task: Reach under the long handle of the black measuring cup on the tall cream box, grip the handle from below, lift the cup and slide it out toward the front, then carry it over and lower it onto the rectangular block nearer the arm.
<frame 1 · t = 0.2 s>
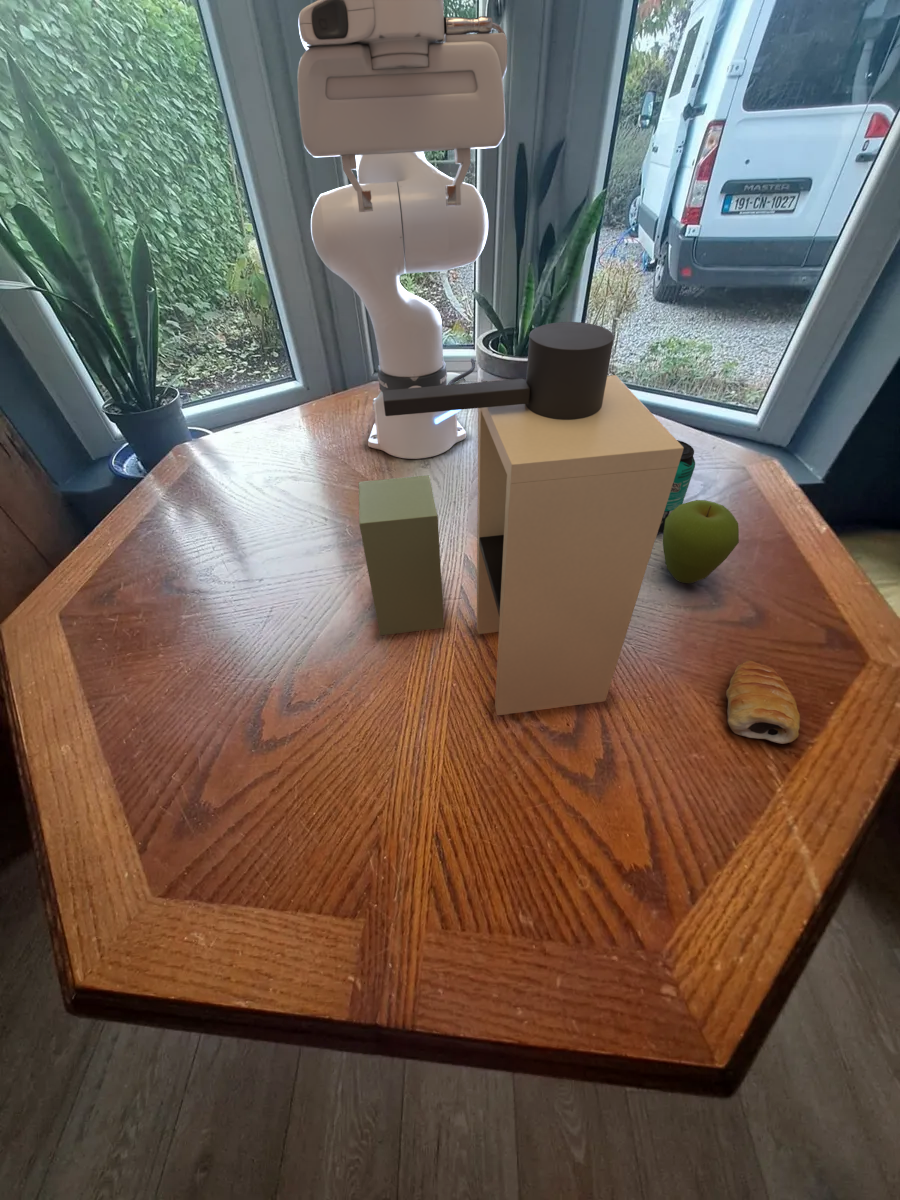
hand: (410, 208, 56), 39 cm above the table, tool pointing down, fingers open, 8 cm apart
tall cream box: (536, 661, 61), on the table
pastry: (753, 711, 55), on the table
measuring cup: (562, 402, 41), point 30 cm above the table, touching tall cream box
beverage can: (650, 521, 80), on the table
rectangular block: (409, 609, 67), on the table
cup: (585, 501, 84), on the table
apple: (682, 578, 70), on the table
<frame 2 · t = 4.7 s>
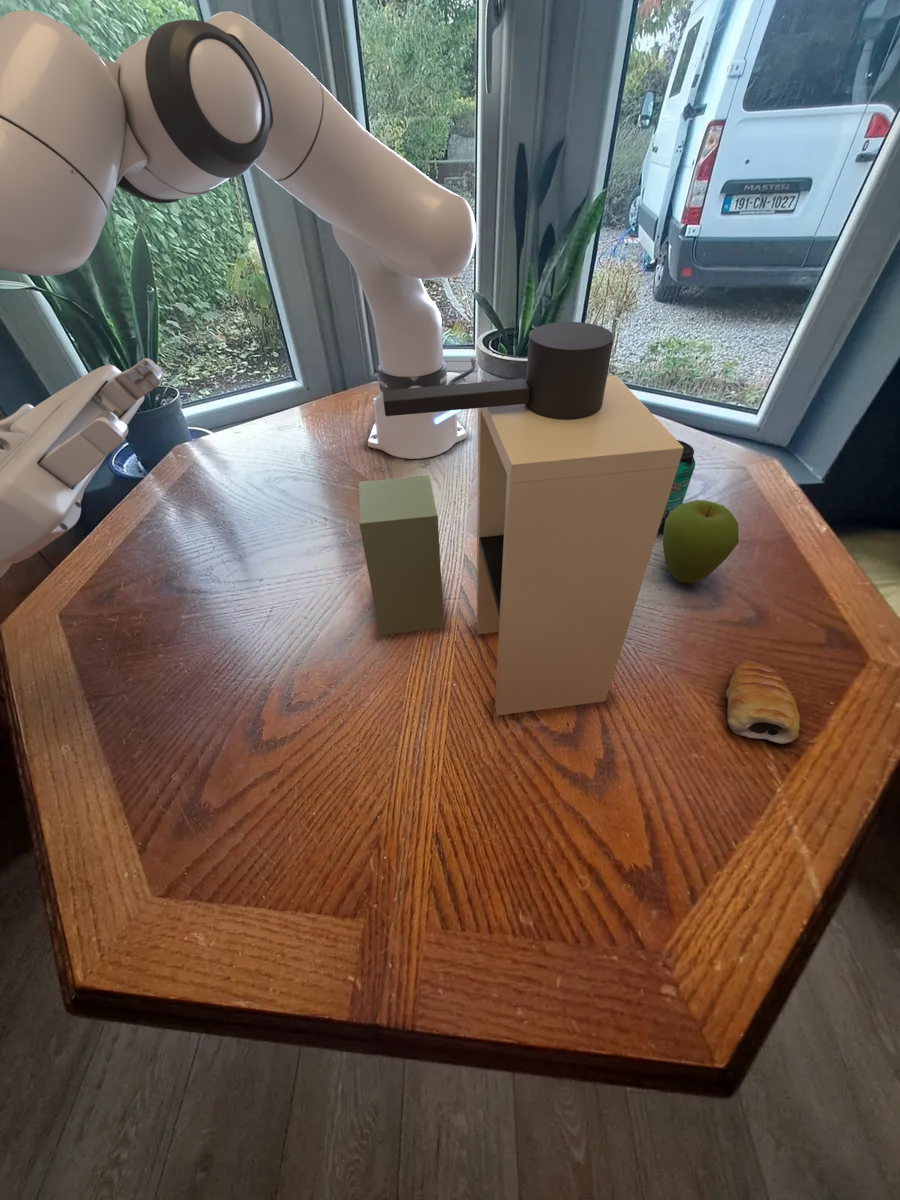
hand: (137, 394, 36), 33 cm above the table, tool pointing upward, fingers open, 8 cm apart
nothing on the table moved.
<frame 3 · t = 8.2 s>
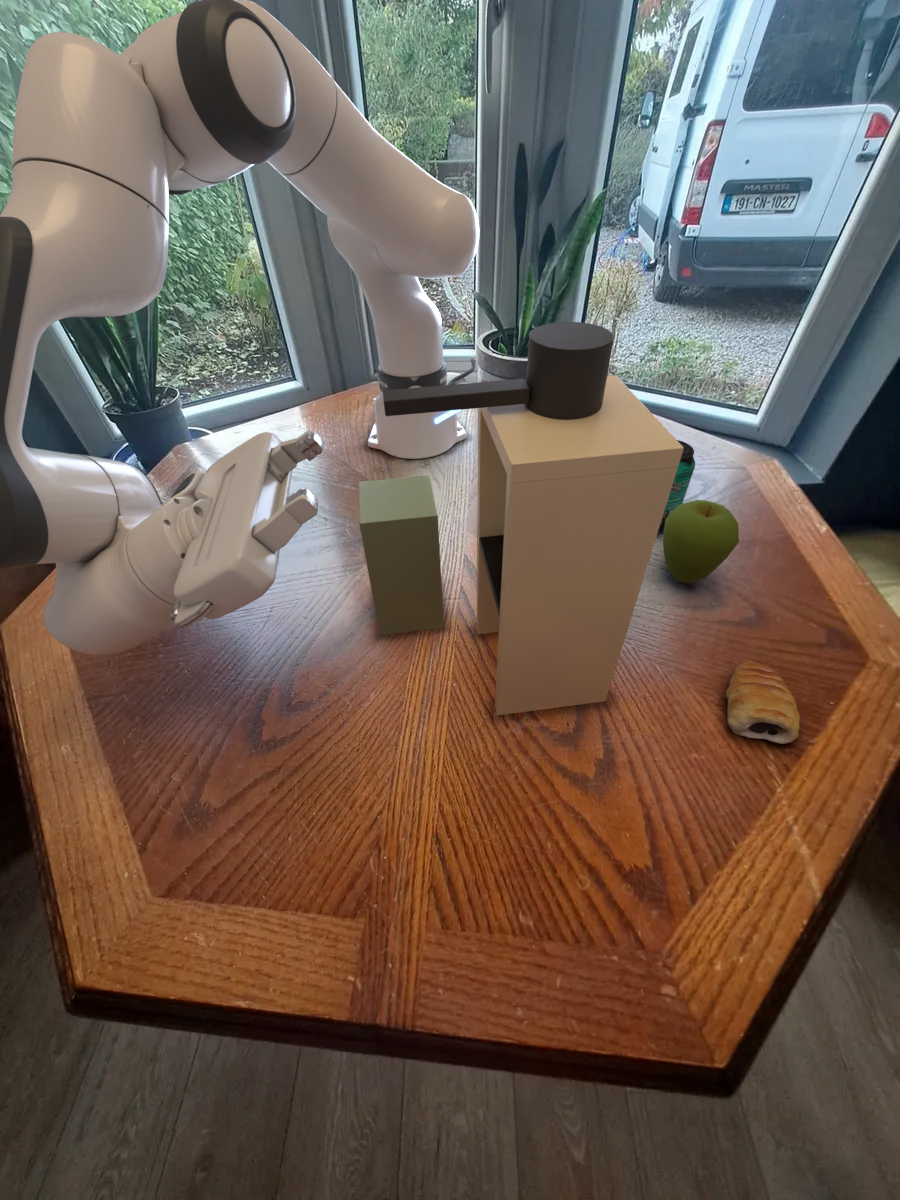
hand: (315, 466, 42), 26 cm above the table, tool pointing upward, fingers open, 8 cm apart
nothing on the table moved.
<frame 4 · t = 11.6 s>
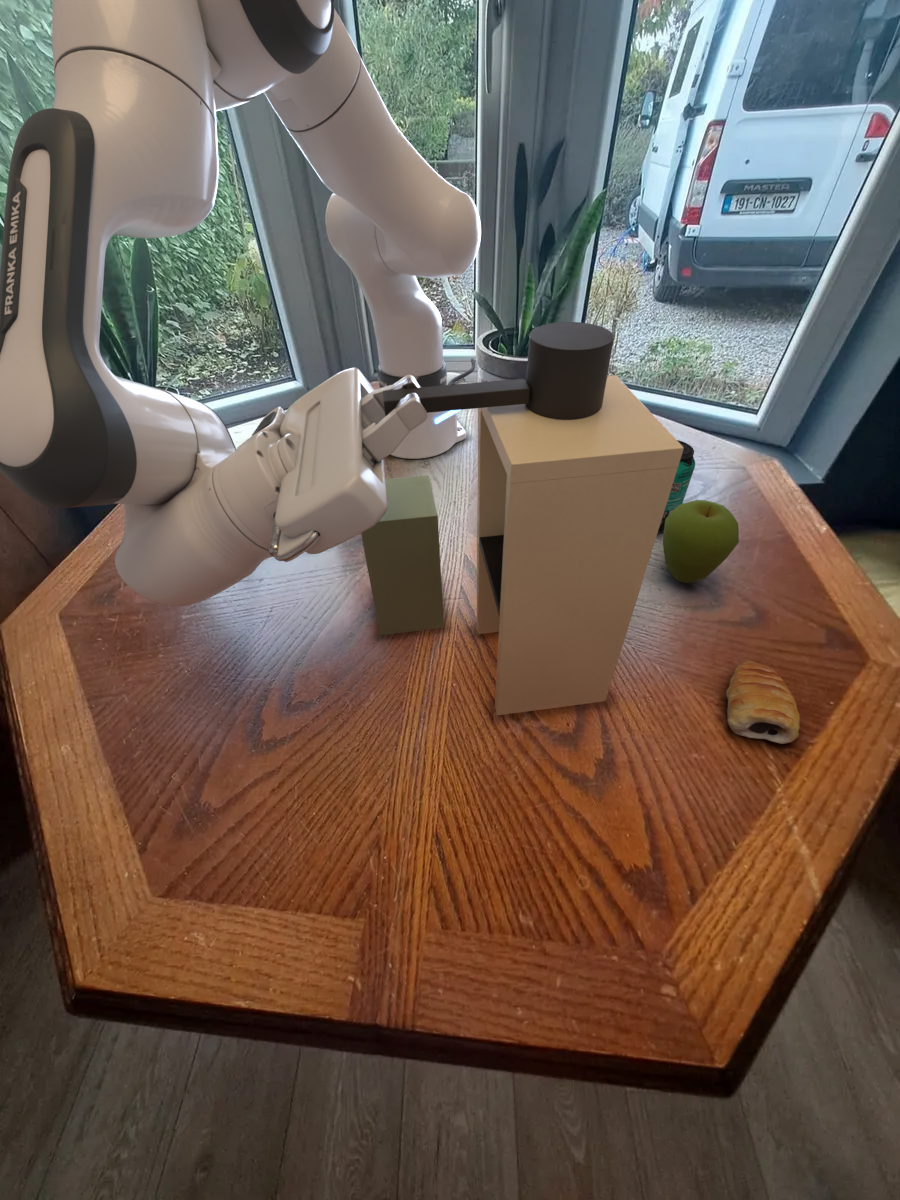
hand: (420, 394, 39), 32 cm above the table, tool pointing upward, fingers closed on measuring cup
measuring cup: (563, 402, 41), point 30 cm above the table, touching gripper, tall cream box
everything else where it was.
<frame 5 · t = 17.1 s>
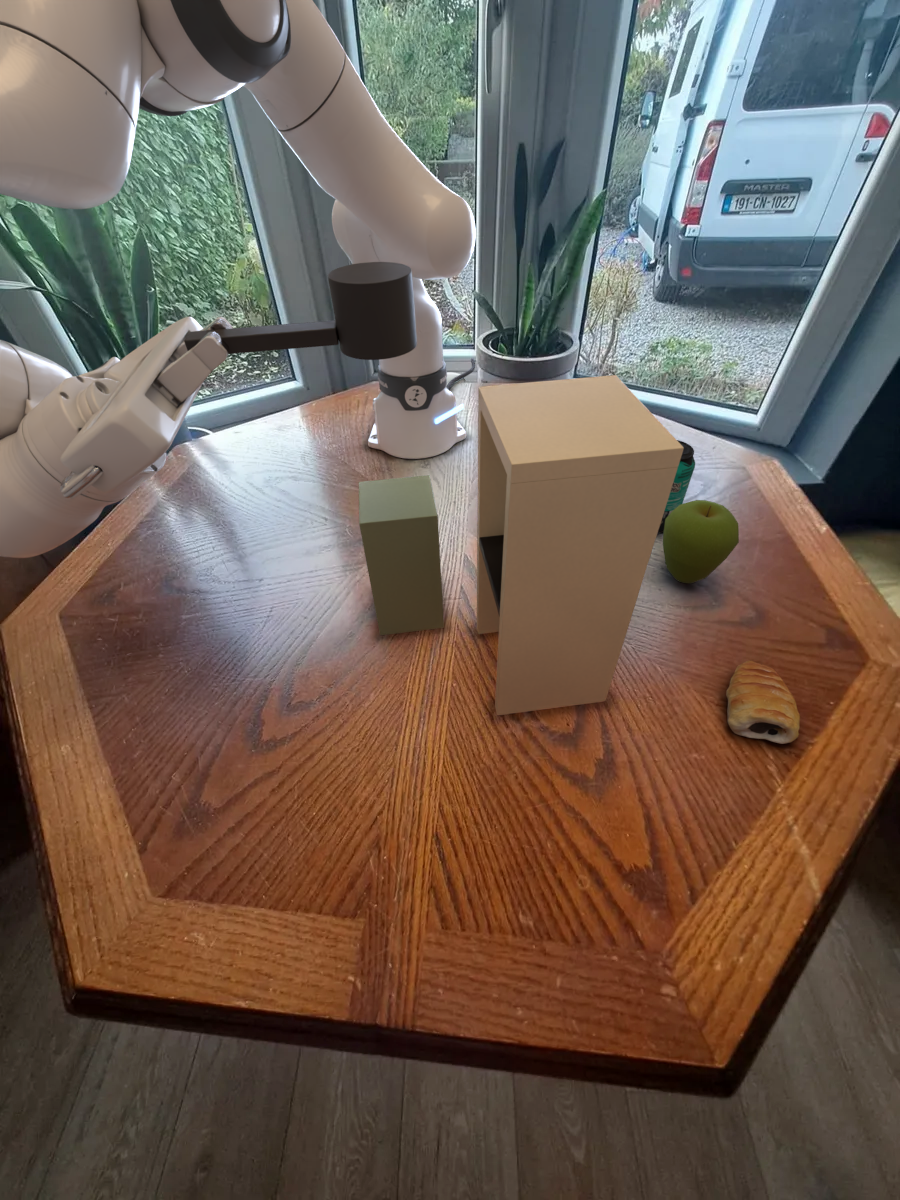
hand: (225, 334, 39), 35 cm above the table, tool pointing upward, fingers closed on measuring cup
measuring cup: (378, 345, 41), point 34 cm above the table, touching gripper
everything else where it was.
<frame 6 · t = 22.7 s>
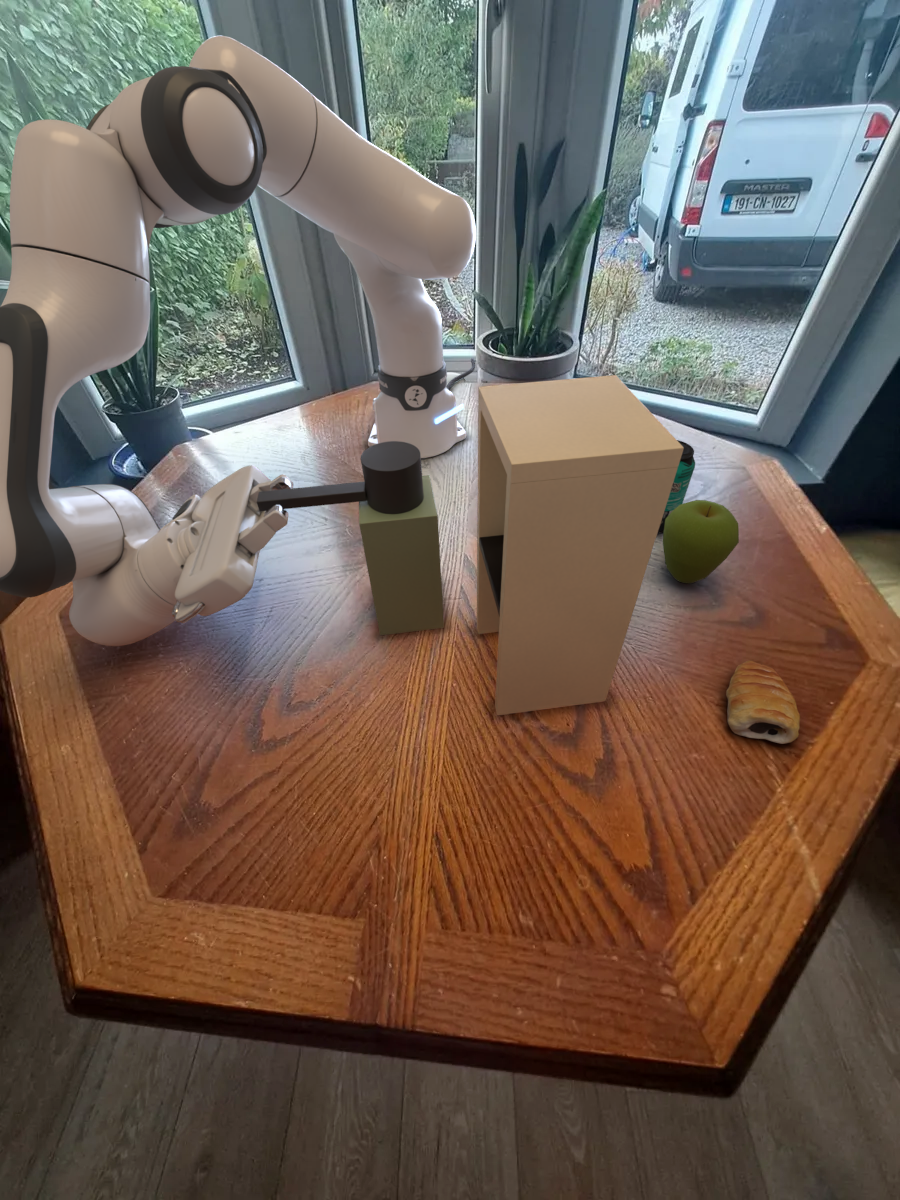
hand: (286, 497, 54), 18 cm above the table, tool pointing upward, fingers open, 4 cm apart
measuring cup: (395, 498, 55), point 17 cm above the table, touching rectangular block
everything else where it was.
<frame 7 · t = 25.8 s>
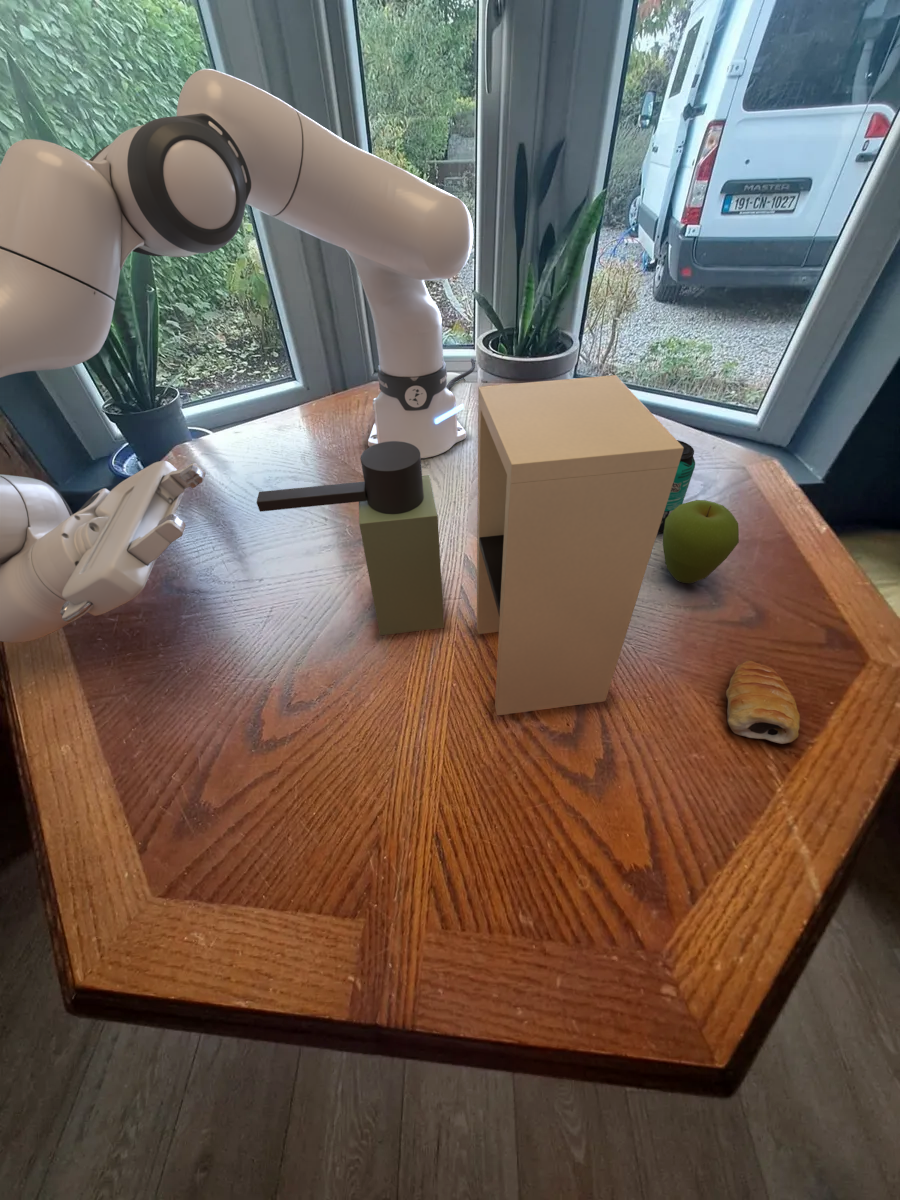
hand: (189, 495, 52), 20 cm above the table, tool pointing upward, fingers open, 8 cm apart
nothing on the table moved.
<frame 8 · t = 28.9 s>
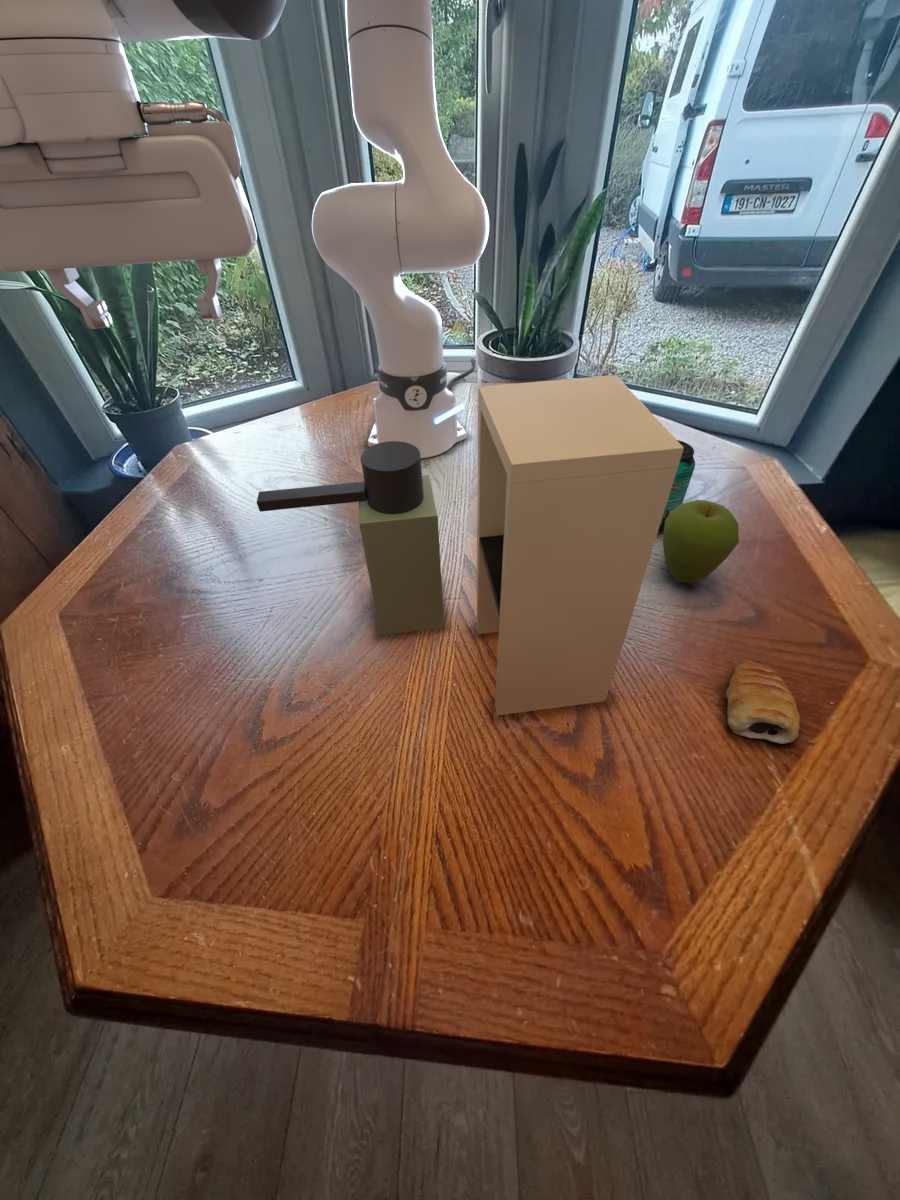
hand: (157, 322, 46), 34 cm above the table, tool pointing down, fingers open, 8 cm apart
nothing on the table moved.
at the end: measuring cup inside the target area on the rectangular block (0.1 cm from its centre), point 17.0 cm above the rectangular block's base; measuring cup tilted 0°; the gripper is holding nothing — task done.
